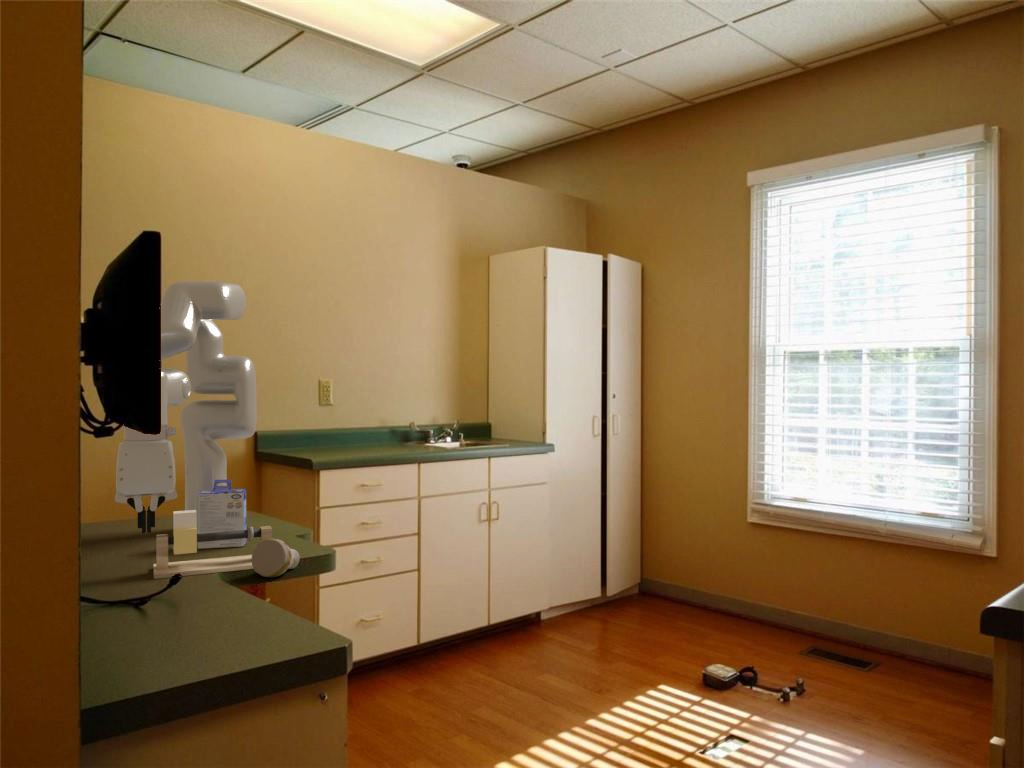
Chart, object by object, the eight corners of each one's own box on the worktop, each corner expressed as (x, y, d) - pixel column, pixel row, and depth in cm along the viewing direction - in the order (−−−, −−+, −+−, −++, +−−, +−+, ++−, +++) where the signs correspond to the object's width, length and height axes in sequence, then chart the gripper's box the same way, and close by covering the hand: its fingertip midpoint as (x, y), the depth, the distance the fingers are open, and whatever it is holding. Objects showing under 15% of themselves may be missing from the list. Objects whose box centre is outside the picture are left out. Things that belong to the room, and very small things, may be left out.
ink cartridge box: (247, 542, 174) (246, 478, 174) (245, 547, 168) (245, 481, 168) (200, 544, 171) (200, 479, 171) (197, 549, 166) (196, 482, 166)
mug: (310, 567, 151) (307, 529, 146) (279, 601, 143) (274, 561, 138) (279, 555, 153) (274, 517, 148) (246, 588, 146) (240, 548, 141)
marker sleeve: (173, 549, 149) (173, 510, 149) (195, 547, 151) (195, 509, 151) (174, 554, 145) (173, 514, 145) (196, 552, 147) (196, 512, 147)
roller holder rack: (153, 568, 150) (153, 530, 150) (270, 556, 159) (270, 521, 159) (153, 579, 142) (153, 539, 142) (277, 566, 151) (276, 528, 151)
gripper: (188, 432, 152) (188, 525, 152) (102, 434, 145) (102, 531, 145) (189, 434, 145) (190, 531, 145) (100, 437, 138) (100, 539, 139)
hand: (146, 531), depth 145 cm, fingers closed
